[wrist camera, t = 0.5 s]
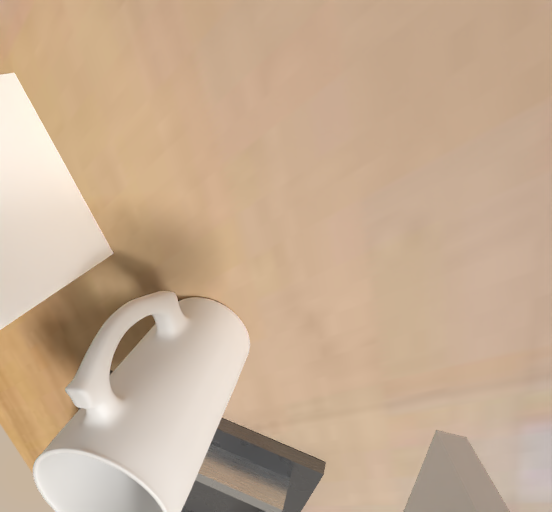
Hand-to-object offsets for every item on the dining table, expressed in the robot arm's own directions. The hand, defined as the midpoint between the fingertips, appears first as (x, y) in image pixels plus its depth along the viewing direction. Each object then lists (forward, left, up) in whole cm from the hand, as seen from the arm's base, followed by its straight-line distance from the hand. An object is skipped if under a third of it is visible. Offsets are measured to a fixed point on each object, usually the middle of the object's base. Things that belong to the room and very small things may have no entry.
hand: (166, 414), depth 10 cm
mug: (+9, -3, -15) cm, 18 cm away
